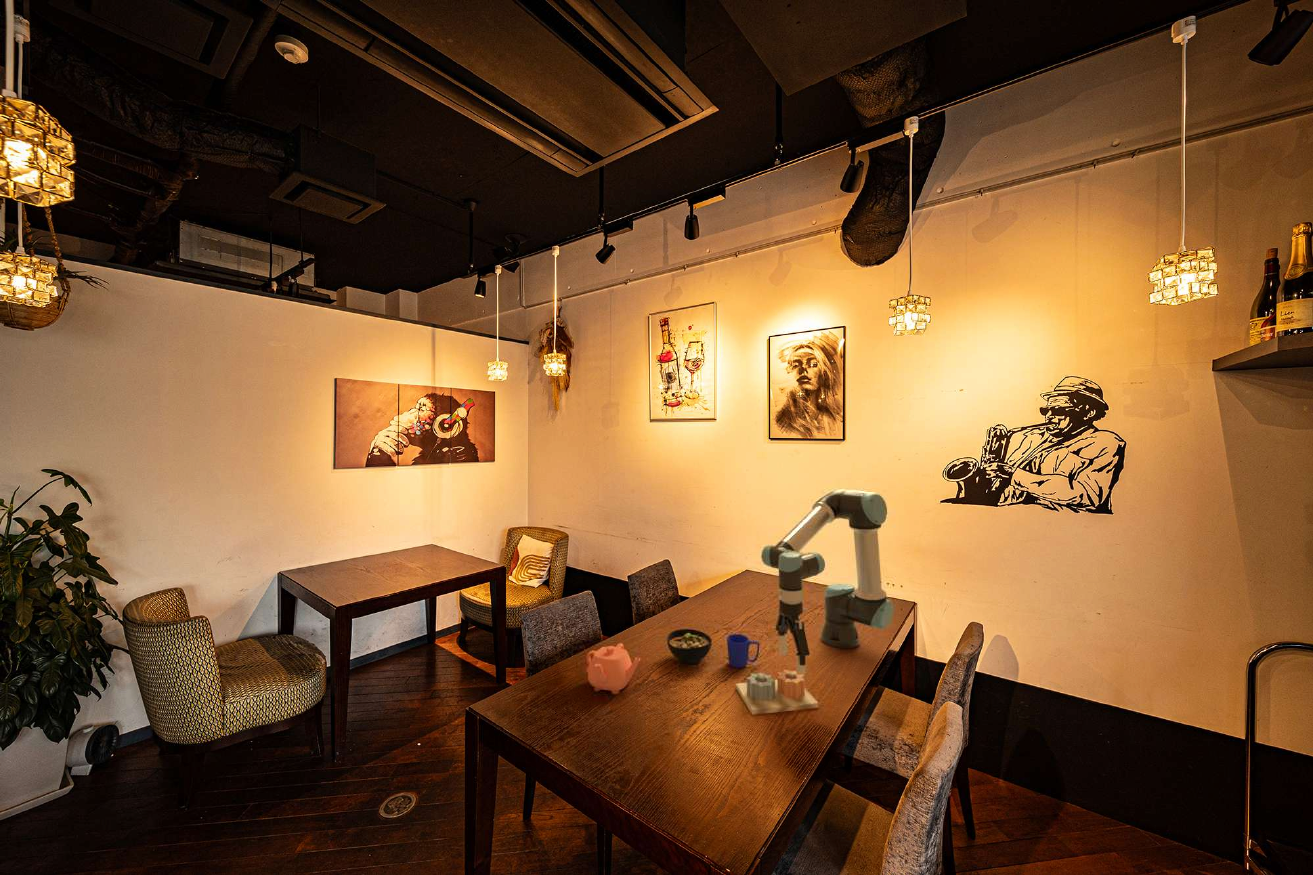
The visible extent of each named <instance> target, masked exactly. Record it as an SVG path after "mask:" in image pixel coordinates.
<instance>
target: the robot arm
mask: <svg viewBox="0 0 1313 875" xmlns="http://www.w3.org/2000/svg"><path fill="white" fill-rule="evenodd" d="M887 507H888V506H887V503H886V501H885V499H884V498H883V497H882V496H881V495H880V494H878V493H876V492H871V491H863V490H850V489H837V490H833V491H831V492H828V493H827V494H826V495H823V496H822V497H821V498H819V499H818V500H816V501H815V503H813V505H812V507H811V510H810V511H809V512H808V513H807V514H806V515H805V516H804V517H803V518H802V519H801V520H800V521H799V522H798V523H797V524H796V525H795V526H794V527H793V528H792V529H791V530H790V531H789V532H788V533H787V534H785V536H784V537H782V539H780V541H779V542H778V543H777V544H775V545H770V544H769V545H766V546H765V547H763V549H762V551H761V555H760V556H761V561H762V563H763V564H764V565H765V566H768V567H769V568H772V569H777V570H778V591H777V593H778V598H779V601H778V604H779V605H778V606H779V607H778V609H779V610H778V616H777V621H776V623H775V624H776V625H775V631H777V634H778V654H779V655H780V656H783V655H788V634H789V633H788V630H789V632H790V634H791V635H792V637H793V640H794V644H795V647H796V651H797V653H795V656H796V671H797V674H798V675H802V674H803V675H806V674H807V667H806V666H807V665H806V664H807V662H806V660H807V659H806V656H810V650H809V646H808V641H807V640H808V639H807V635H806V631H805V623H804V621H800V618H799V617H800V616H801V615H802V614H803V613H804V607H803V606H804V604H803V600H804V599H803V597H804V596H803V593H804V592H803V590H804V589H803V580H807V579H809V578H811V577H814V576H818V575H819V574H821V573H822V572H824V571H825V568H826V562H825V561H826V560H825V558H823V556H822V555H821V554H820V553H819V552H816V551H813V552H807V553H804V552H802V549H804V548H805V547H806V546H807V545H808V543H809V542H811V540H813V538H815V536H817V534H818V533H819V532H820V531H822V529H823V528H824V527H825V526H826V525H827V524H830V523H833V522H834V521H835V520H836V519H843V520H848V527H849V528H850V529H852V530H853V537H854V538H853V539H854V541H853V542H854V552H855V553H854V554H855V566H856V578H857V579H856V580H857V587H856V588H855V586H854V585H852V584H847V583H835V584H830V585H828V586H826V587H825V589H824V590H825V592H824V619H825V620H824V622H823V625H822V629H821V632H820V639H821V641H822V642H823V643H824V644H826V645H828V646H831V647H835V648H838V649H853V648H856V647H858V646H859V645H860V636H859V633H858V630H857V627H856V624H855V623H859V624H861V625H863V626H868V627H870V628H872V629H877V630H885V629H886V628H887V627H888V626H889V625H890V624H891V622H892V619H893V616H894V612H895V606H894V603H893V602H892V601H891V600H890V599H887V592H886V591H885V590H884V589H883V588H882V574H881V563H880V562H881V560H880V547H879V545H880V544H879V534H878V533H879V532H878V530H880V529H881V528H882V525H883V524H884V523H885V522H886V520H887V516H888V508H887Z"/></svg>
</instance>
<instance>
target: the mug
mask: <svg viewBox="0 0 1313 875" xmlns="http://www.w3.org/2000/svg"><path fill="white" fill-rule="evenodd" d="M753 644H754V645H757V649H756V655H755V658H753V659H750V657H749V651H750V647H751V645H753ZM726 646H727V656H728V664H729V665H730V666H731V667H733V668H736V669H741V668H745V667H746V666H747V665H748V662H750V663H755V662H757V660H758V658H759V654H760V642H759V641H754V640H750V638H749V637H748V636H746V635H744V634H740V633H733V634H729V635H728V636H727V637H726Z"/></svg>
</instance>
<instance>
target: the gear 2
mask: <svg viewBox="0 0 1313 875" xmlns="http://www.w3.org/2000/svg"><path fill="white" fill-rule="evenodd" d="M790 673H791V674H794V679H788V674H790ZM776 680H777V688H778V693H782V695H785V697H786V698H788V697H791V698H793V697H795V699H799V697H800V696H801V695H802V696H804V695H805V689H806V687H805V686H806V680H805V674H801V675H798V674H797V670H787V669H783V671H781V672H780V671H778V672H777V678H776Z"/></svg>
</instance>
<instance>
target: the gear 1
mask: <svg viewBox="0 0 1313 875" xmlns="http://www.w3.org/2000/svg"><path fill="white" fill-rule="evenodd" d="M759 676H762V677H764V683H763V682H758V677H759ZM746 679H747V680H746V683H747V694H750V698H751V699H756V700H759V702H763V701H767V700H769V701H772V697H775V680H776V679H773V675H771V674H769V675H767V674H766V673H763V672H759V673H753V672H752V673H750V676H748V677H747V678H746Z"/></svg>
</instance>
